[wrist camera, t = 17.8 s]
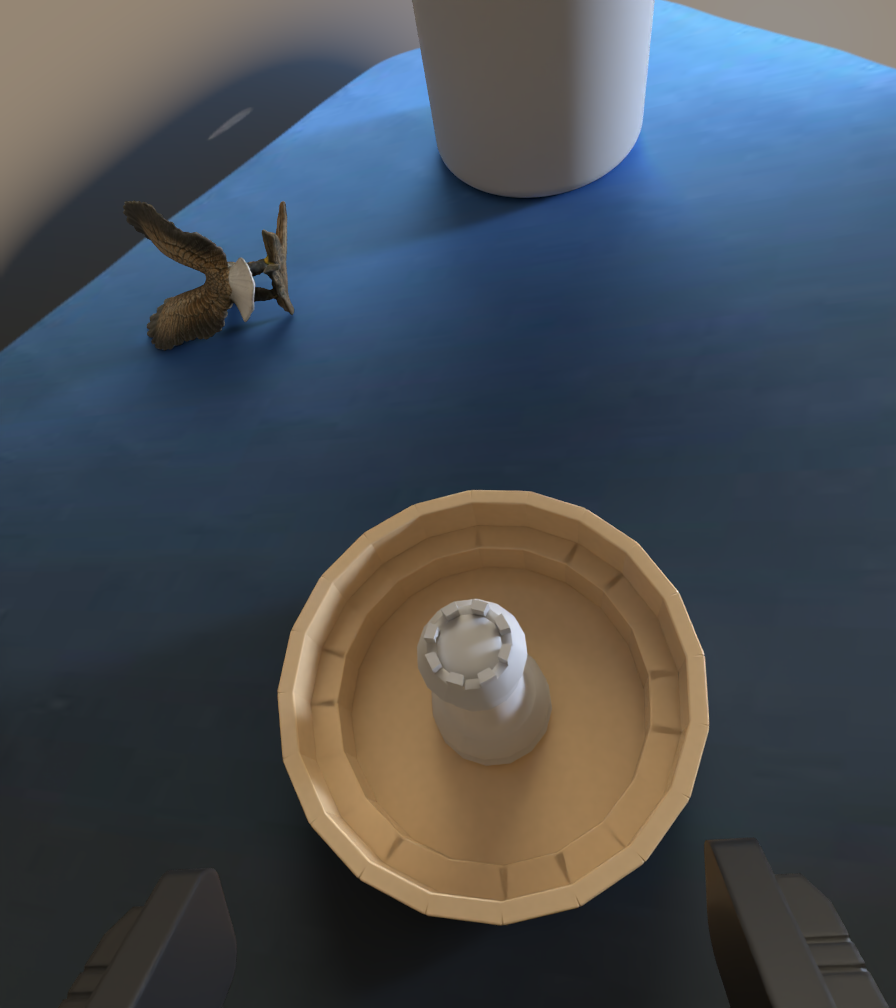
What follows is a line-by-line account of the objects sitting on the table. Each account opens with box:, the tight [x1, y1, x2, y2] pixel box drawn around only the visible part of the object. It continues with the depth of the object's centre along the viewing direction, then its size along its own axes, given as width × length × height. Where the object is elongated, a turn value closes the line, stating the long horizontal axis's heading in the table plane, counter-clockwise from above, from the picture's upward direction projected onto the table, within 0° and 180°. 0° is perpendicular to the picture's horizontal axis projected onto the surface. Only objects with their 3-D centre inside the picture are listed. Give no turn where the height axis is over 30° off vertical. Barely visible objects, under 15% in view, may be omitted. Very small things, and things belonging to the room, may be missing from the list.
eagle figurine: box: [123, 201, 294, 350], centre depth 37 cm, size 8×7×9 cm
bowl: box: [277, 490, 709, 926], centre depth 25 cm, size 14×14×4 cm
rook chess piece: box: [417, 599, 552, 766], centre depth 23 cm, size 4×4×8 cm
